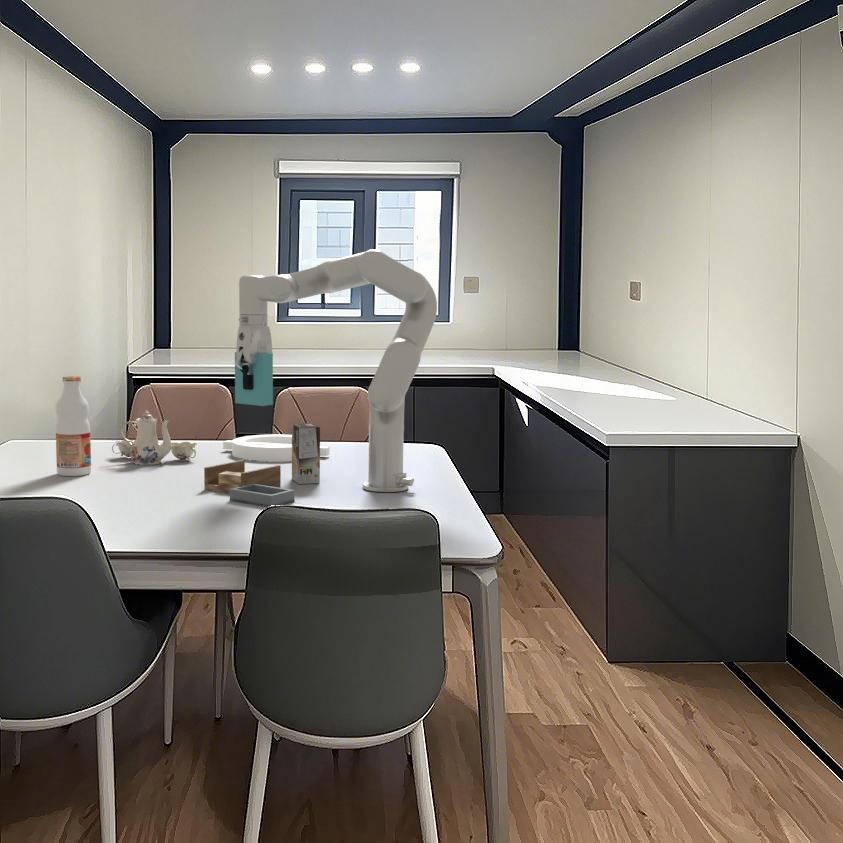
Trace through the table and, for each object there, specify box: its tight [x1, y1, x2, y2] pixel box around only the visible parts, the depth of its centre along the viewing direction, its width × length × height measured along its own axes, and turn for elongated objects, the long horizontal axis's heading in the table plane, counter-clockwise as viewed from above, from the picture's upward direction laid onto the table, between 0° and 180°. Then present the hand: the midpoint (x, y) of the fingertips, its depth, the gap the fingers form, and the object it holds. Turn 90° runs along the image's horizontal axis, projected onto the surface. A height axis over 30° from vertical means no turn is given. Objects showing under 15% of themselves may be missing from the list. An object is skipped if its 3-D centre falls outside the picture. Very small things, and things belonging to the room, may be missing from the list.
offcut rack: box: [203, 459, 282, 495], centre depth 288 cm, size 14×15×6 cm
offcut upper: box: [219, 471, 241, 485], centre depth 285 cm, size 7×4×2 cm, turn 69°
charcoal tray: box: [229, 484, 296, 508], centre depth 273 cm, size 14×9×3 cm, turn 58°
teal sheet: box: [234, 351, 274, 407], centre depth 289 cm, size 10×4×14 cm, turn 58°
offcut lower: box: [218, 482, 241, 488], centre depth 286 cm, size 7×4×2 cm, turn 58°
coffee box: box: [291, 422, 321, 485], centre depth 300 cm, size 9×6×16 cm
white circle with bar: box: [222, 433, 330, 463], centre depth 344 cm, size 28×28×5 cm
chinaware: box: [111, 410, 198, 466], centre depth 328 cm, size 28×17×17 cm, turn 85°
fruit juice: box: [55, 375, 92, 477], centre depth 303 cm, size 9×9×28 cm
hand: (253, 388), depth 289 cm, fingers closed on teal sheet, 4 cm apart
